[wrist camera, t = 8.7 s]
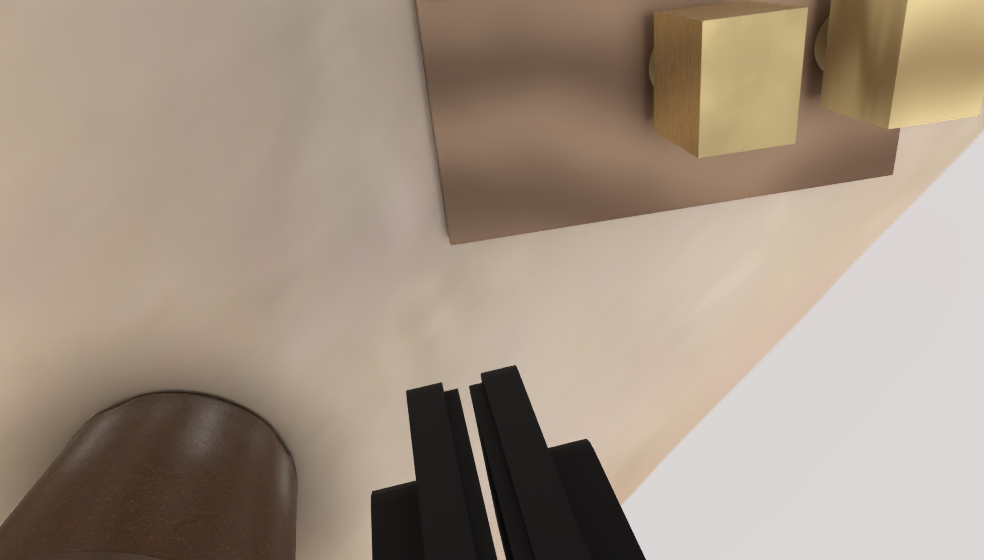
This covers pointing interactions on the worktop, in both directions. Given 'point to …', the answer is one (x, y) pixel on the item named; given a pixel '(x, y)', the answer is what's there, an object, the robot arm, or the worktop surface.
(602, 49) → the wooden slider board
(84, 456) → the plant pot
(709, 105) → the sliding block
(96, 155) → the worktop surface
